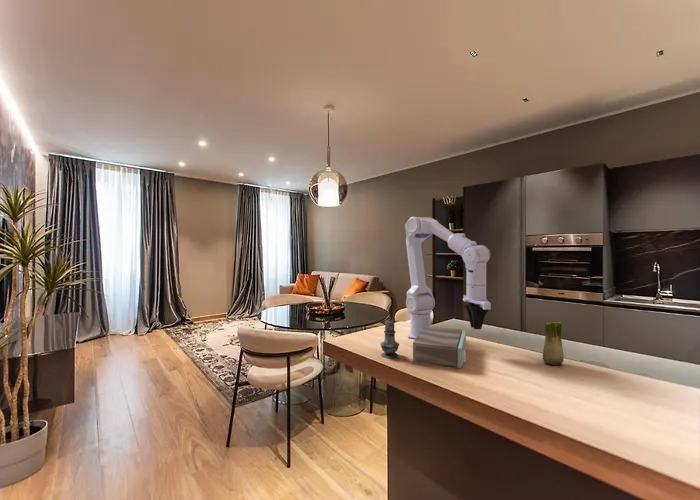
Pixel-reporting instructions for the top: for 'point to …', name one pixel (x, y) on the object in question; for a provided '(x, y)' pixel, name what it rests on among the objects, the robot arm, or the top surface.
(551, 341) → the fennel bulb
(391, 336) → the salt shaker
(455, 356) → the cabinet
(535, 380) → the top surface
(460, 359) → the door
